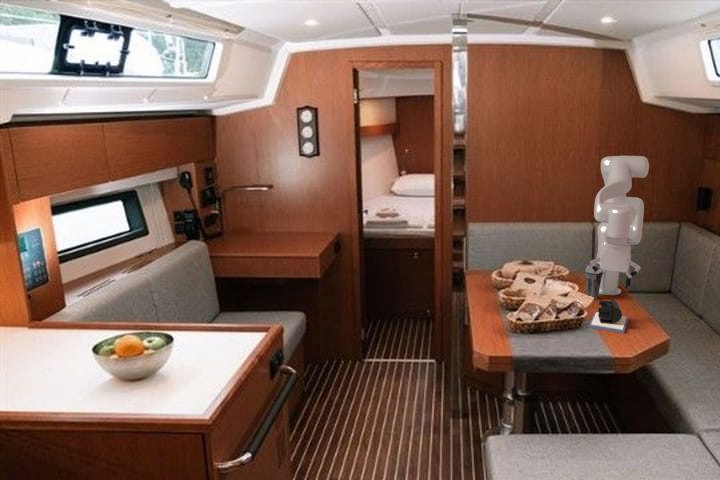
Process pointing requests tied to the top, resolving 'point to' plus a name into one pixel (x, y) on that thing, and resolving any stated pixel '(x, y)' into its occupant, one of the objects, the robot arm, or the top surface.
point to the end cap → (609, 312)
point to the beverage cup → (592, 281)
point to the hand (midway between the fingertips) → (612, 285)
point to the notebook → (615, 327)
